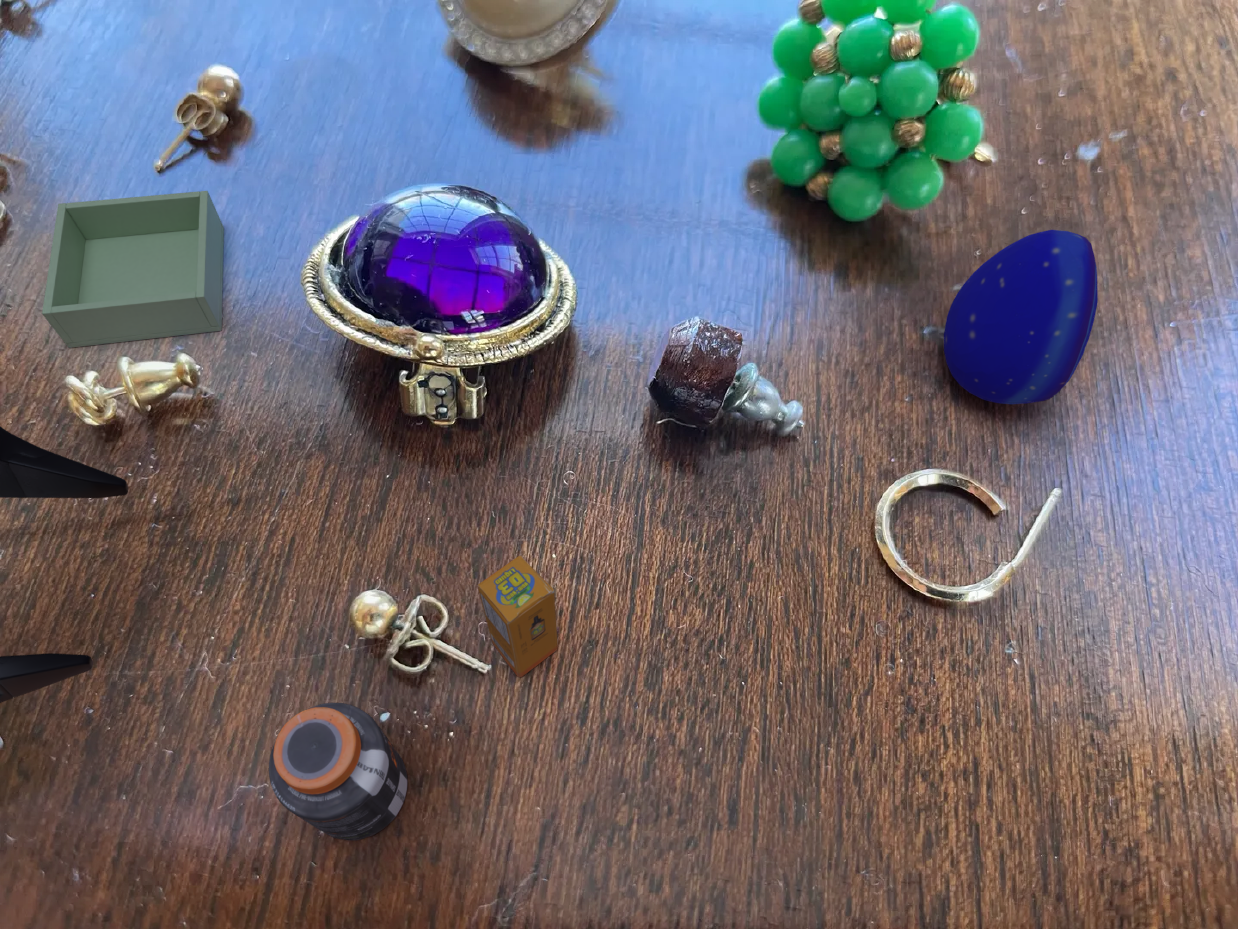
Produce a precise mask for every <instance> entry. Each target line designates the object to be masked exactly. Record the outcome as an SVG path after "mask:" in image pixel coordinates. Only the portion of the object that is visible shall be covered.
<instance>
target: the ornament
mask: <svg viewBox="0 0 1238 929" xmlns="http://www.w3.org/2000/svg"><path fill="white" fill-rule="evenodd" d="M1095 256H1096V255H1095V253H1094V248H1093V245H1092V243H1091V242H1090V241H1089V239H1088V238H1087V237H1085V236H1083V235H1081V234H1078V233H1075V232H1072V231H1069V230H1062V229H1061V230H1060V229H1048V230H1044V231H1038V232H1035V233H1032V234H1028V235H1026V236H1024V237H1022V238H1020V239H1017V240H1016V241H1014V242H1012V243H1011V244H1008V245H1006V246H1005V247H1004V248H1002V249H1001V250H999V251H998V252H996V253H995V254H994V255H993V256H991V257H990V258H988V259H987V260H986V261H984V262H982V264H981V265H979V267H978V268H977V269H976V270H975V271H973V272H972V273H971V275H970V276H969V277H968V279H967V280H966V281H965V282H964V283H963V284H962V285H961V287H960V289H959V291H958V292H957V293H956V295H955V297H954V299H953V301H952V302H951V304H950V307H949V309H948V313H947V316H946V320H945V325H944V331H943V353H944V358H945V362H946V366H947V368H948V370H949V372H950V374H951V376H952V377H953V378H954V380H955V381H956V383H957V384H958V385H959V386H960V387H961V388H963V389H964V390H965V391H966V392H968V393H969V394H971V395H973V396H975V397H977V398H979V399H981V400H984V401H987V402H991V403H996V404H1003V405H1022V404H1026V405H1027V404H1033V403H1041V402H1046V401H1048V400H1050V399H1051V398H1053V397H1054V396H1056V395H1057V394H1058V393H1059V392H1061V390H1062V389H1063V388H1064V387H1065V386H1066V384H1068V382H1070V380H1071V378H1072V377H1073V375H1074V374H1075V372H1076V370H1077V368H1078V366H1079V364H1080V362H1081V360H1082V358H1083V356H1084V354H1085V351H1086V348H1087V344H1088V342H1089V340H1090V337H1091V333H1092V329H1093V326H1094V322H1095V318H1096V313H1097V308H1098V301H1099V296H1098V293H1099V292H1098V291H1099V290H1098V269H1097V262H1096V257H1095Z"/></svg>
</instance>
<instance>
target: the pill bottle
mask: <svg viewBox="0 0 1238 929" xmlns="http://www.w3.org/2000/svg"><path fill="white" fill-rule="evenodd" d="M268 777H269V778H268V779H269V783H270V787H271V789H272V791H273V794H274V795H275V797H276V799H277V800H278V801H279V802H280V804H281V805H282V806H283V807H284V808H285V809H287V810H288V811H289V812H290V813H292V814H294V815H295V816H297V817H298V818H299V819H301V820H303V821H304V822H305V823H308V824H309V825H311V826H312V827H314V828H315V829H317V830H318V831H320V832H322V833H324V834H326V835H327V836H329V837H331V838H333V839H337V840H342V841H361V840H364V839H366V838H369V837H372V836H374V835H376V834H377V833H379V832H381V831H383V830H384V829H385V828H386V827H388V826H389V825H390V824H391V823H392V822H393V821H394V820H395V819H396V817H397V815H398V814H399V812H400V810H401V809H402V807H403V805H404V802H405V800H406V795H407V791H408V773H407V768H406V764H405V762H404V761H403V758H402V756H401V755H400V753H399V752H398V751H397V749H396V748H395V747H394V745H393V743H392V742H391V741H390V740H389V738H388V736H386V734H385V733H384V732H383V729H381V727H380V726H379V724H378V723H377V721H376V720H375V719H374V718H373V717H372V716H371V715H370V714H369V713H368V712H366V711H364V710H363V709H362V708H360V707H357V706H355V705H352V704H349V703H344V702H326V703H325V702H324V703H321V704H317V705H313V706H310V707H308V708H306V709H305V710H302V711H300V712H298V713H297V714H295V715H293V716H292V717H291V718H290V719H289V720H288V721H287V722H285V724H284V725H283V726H282V728H281V729H280V731H279V732H278V734H277V736H276V738H275V741H274V743H273V745H272V747H271V751H270V755H269V761H268Z"/></svg>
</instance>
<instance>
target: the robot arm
mask: <svg viewBox="0 0 1238 929" xmlns="http://www.w3.org/2000/svg"><path fill="white" fill-rule="evenodd" d="M128 484H129V483H128V482H127V481H126V479H124V478H123V477H121V476H120V477H119V476H117V475H115V474H112V473H109V472H106V471H104V470H101V469H98V468H96V467H93V466H90V465H86V464H85V463H82V462H79V461H76V460H73V459H71V458H68V457H66V456H63V455H61V454H58V453H56V452H55V453H54V452H52V451H50V450H47V449H46V448H42V447H40V446H38V445H35V444H33V443H31V442H29V441H28V440H25V439H23V438H21V437H19V436H18V435H15V434H13V433H11V432H10V431H8V430H7V429H5V428H4V427H2V425H1V426H0V499H103V498H104V499H105V498H112V497H122V496H126V495H128V493H129V485H128ZM94 663H95V662H94V659H93V658H92V656H90V655H88V654H75V653H55V652H50V653H48V652H47V653H33V654H32V653H31V654H16V655H15V654H14V655H0V704H2V703H5V702H8V701H10V700H13V699H16V698H18V697H21V696H24V695H26V694H28V693H31V692H35V691H37V690H40V689H42V688H45V687H48V686H51V685H55V684H57V683H59V682H61V681H65V680H67V679H70V678H73V677H76V676H79V675H81V674H83V673H87V672H89V671H91V670H92V669H93V667H94Z"/></svg>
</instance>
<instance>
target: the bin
mask: <svg viewBox="0 0 1238 929" xmlns="http://www.w3.org/2000/svg"><path fill="white" fill-rule="evenodd" d="M214 204H215V203H214V201H213V200H212V197H211V195H210V193H209V191H208V190H201V191H197V190H196V191H189V192H188V191H186V192H177V193H166V194H153V195H142V196H131V197H120V198H119V197H118V198H109V199H98V200H97V199H95V200H87V201H85V200H84V201H75V202H67V203H66V202H62V203H57V210H56V216H55V223H54V229H53V237H52V243H51V249H50V257H49V264H48V270H47V277H46V284H45V291H44V298H43V304H42V311H41V315H42V316H43V317H44V319H46V321H47V322H48V324H49V325H50V326H51V327H52V329H53V330H54V331H55V333H56V334H57V336H59V338H60V339H61V340H62V341H63V342H64V344H65V345H66V346H67V348H69V349H71V348H80V347H81V348H82V347H88V346H99V345H107V344H116V343H127V342H133V341H142V340H152V339H160V338H161V339H162V338H170V337H179V336H187V335H197V334H206V333H215V332H222V330H223V292H224V291H223V286H224V243H225V241H224V236H225V227H224V225H223V222H222V220H221V218H220V215H219V213H218V210H217V209H216V206H215V205H214Z"/></svg>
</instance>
